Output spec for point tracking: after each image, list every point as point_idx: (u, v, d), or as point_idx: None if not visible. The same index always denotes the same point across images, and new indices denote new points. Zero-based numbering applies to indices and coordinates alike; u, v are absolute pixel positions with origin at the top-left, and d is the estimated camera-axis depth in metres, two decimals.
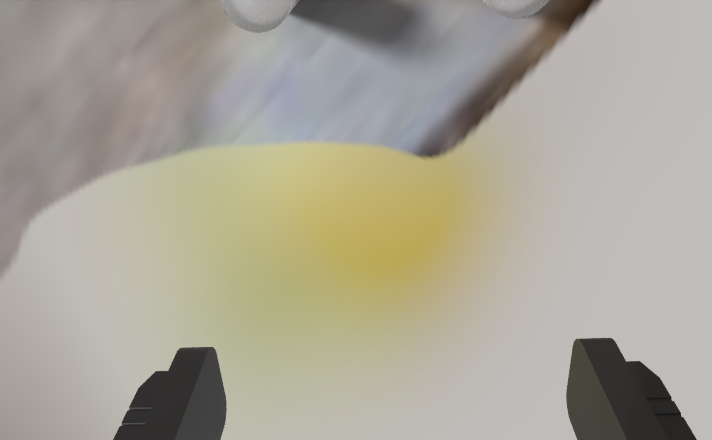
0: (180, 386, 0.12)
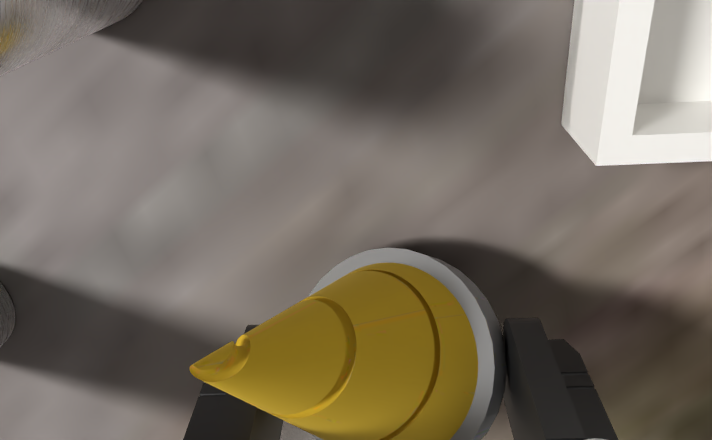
0: None
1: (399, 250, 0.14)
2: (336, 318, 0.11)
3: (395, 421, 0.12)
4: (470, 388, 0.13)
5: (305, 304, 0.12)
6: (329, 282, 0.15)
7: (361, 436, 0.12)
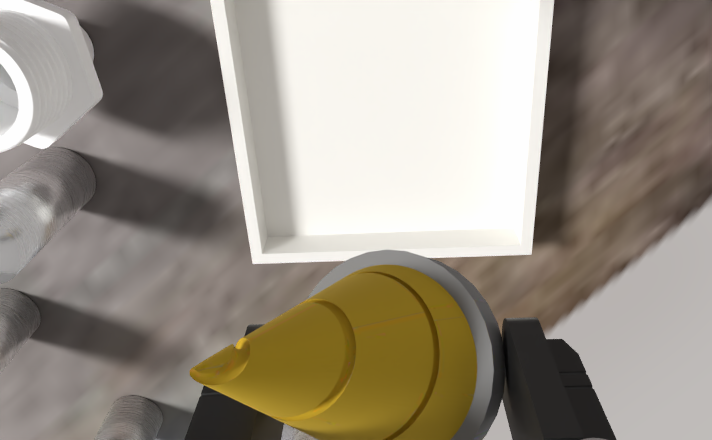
0: None
1: (398, 252, 0.14)
2: (335, 321, 0.11)
3: (394, 423, 0.12)
4: (470, 390, 0.13)
5: (305, 307, 0.12)
6: (329, 284, 0.15)
7: (360, 438, 0.12)
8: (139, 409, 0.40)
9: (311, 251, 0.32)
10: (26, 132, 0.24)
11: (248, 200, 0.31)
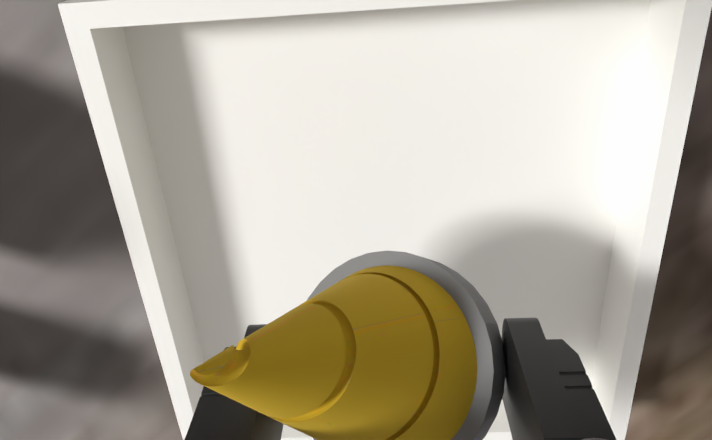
0: None
1: (398, 253, 0.14)
2: (335, 322, 0.11)
3: (394, 424, 0.12)
4: (470, 390, 0.13)
5: (305, 308, 0.12)
6: (329, 285, 0.15)
7: (360, 439, 0.12)
8: None
9: None
10: None
11: (171, 369, 0.19)
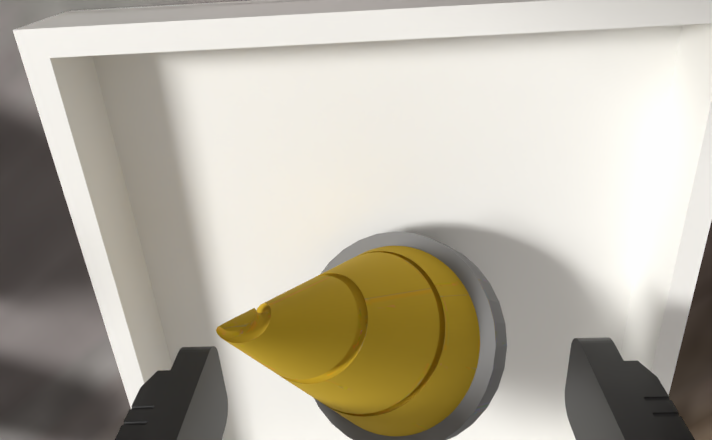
0: (182, 385, 0.12)
1: (406, 234, 0.15)
2: (348, 292, 0.12)
3: (401, 391, 0.12)
4: (473, 363, 0.14)
5: (319, 279, 0.12)
6: (338, 264, 0.16)
7: (369, 405, 0.12)
8: None
9: None
10: None
11: None
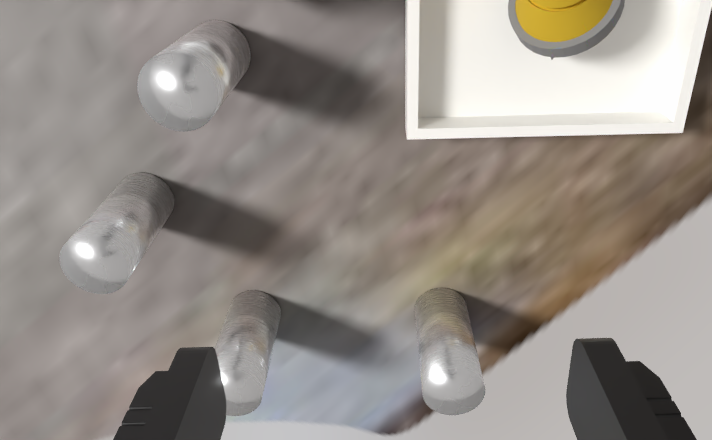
0: (180, 386, 0.12)
1: None
2: None
3: None
4: None
5: None
6: None
7: None
8: (263, 302, 0.41)
9: (466, 127, 0.33)
10: None
11: (412, 70, 0.32)
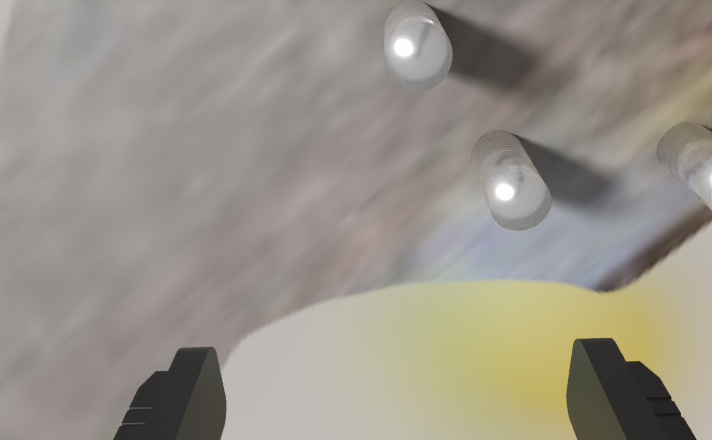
0: (180, 386, 0.12)
1: None
2: None
3: None
4: None
5: None
6: None
7: None
8: (514, 138, 0.41)
9: None
10: None
11: None
